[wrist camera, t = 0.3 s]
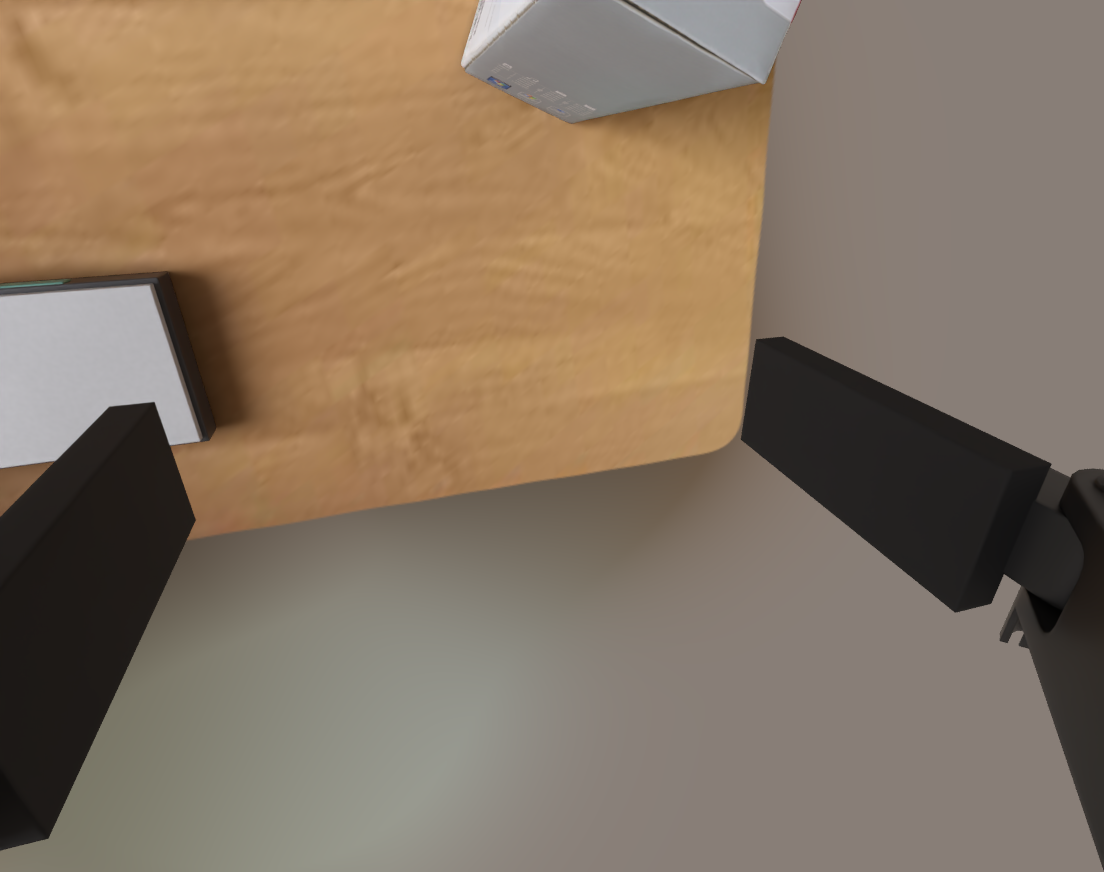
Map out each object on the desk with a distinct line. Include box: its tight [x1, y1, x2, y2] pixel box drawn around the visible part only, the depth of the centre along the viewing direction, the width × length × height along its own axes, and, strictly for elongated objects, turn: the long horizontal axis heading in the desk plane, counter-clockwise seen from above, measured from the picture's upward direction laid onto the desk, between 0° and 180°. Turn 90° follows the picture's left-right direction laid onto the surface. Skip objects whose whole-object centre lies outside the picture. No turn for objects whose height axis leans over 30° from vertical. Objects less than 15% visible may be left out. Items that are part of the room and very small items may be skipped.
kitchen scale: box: [0, 272, 216, 469], centre depth 33 cm, size 10×15×3 cm
